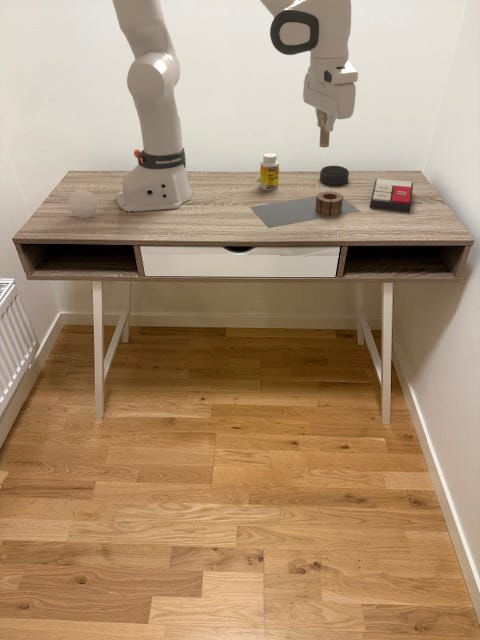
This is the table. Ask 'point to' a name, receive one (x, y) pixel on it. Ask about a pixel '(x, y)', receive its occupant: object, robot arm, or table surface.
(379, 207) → the calculator
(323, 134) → the dowel
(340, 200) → the bead
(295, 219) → the felt mat
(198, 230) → the table surface
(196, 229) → the table surface
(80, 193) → the geometric ball
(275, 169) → the supplement bottle
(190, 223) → the table surface
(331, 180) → the smart speaker
